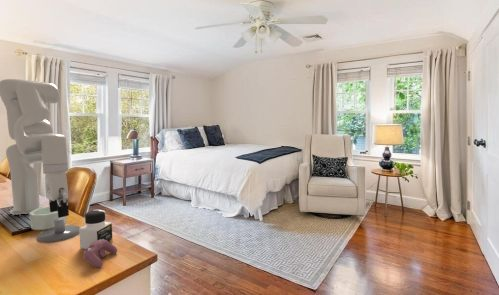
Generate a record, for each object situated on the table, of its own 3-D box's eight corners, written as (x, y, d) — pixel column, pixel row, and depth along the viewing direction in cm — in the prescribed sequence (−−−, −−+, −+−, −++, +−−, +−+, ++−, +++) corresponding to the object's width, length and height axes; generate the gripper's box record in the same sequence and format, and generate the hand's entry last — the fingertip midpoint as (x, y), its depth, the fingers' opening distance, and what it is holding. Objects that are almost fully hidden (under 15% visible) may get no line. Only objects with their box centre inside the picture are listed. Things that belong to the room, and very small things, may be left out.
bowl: (27, 224, 111) (26, 210, 110) (61, 217, 120) (60, 204, 119) (35, 232, 104) (34, 217, 103) (70, 223, 112) (69, 209, 112)
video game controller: (107, 256, 90) (97, 238, 89) (119, 250, 89) (109, 232, 89) (88, 273, 80) (77, 253, 79) (102, 267, 79) (90, 246, 79)
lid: (33, 235, 102) (32, 220, 101) (73, 225, 112) (72, 211, 111) (43, 246, 93) (42, 229, 93) (86, 234, 103) (85, 219, 103)
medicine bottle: (98, 251, 90) (96, 215, 89) (79, 248, 91) (77, 214, 90) (113, 241, 97) (111, 208, 96) (95, 239, 98) (93, 207, 97)
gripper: (36, 167, 103) (40, 211, 104) (50, 172, 91) (54, 221, 93) (60, 164, 108) (63, 206, 110) (75, 169, 97) (79, 216, 99)
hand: (59, 213), depth 101 cm, fingers open, 9 cm apart
